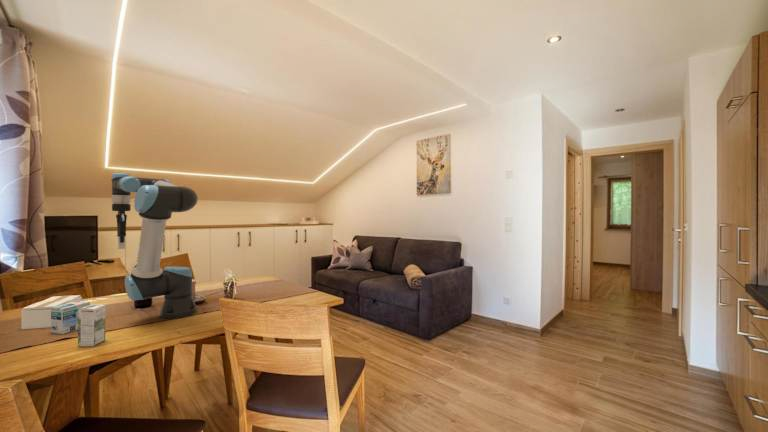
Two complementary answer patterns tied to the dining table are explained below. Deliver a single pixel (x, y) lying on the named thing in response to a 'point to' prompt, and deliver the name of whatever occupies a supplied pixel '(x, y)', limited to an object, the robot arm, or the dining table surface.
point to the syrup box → (91, 325)
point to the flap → (62, 298)
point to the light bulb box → (66, 317)
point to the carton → (40, 314)
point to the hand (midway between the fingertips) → (121, 248)
